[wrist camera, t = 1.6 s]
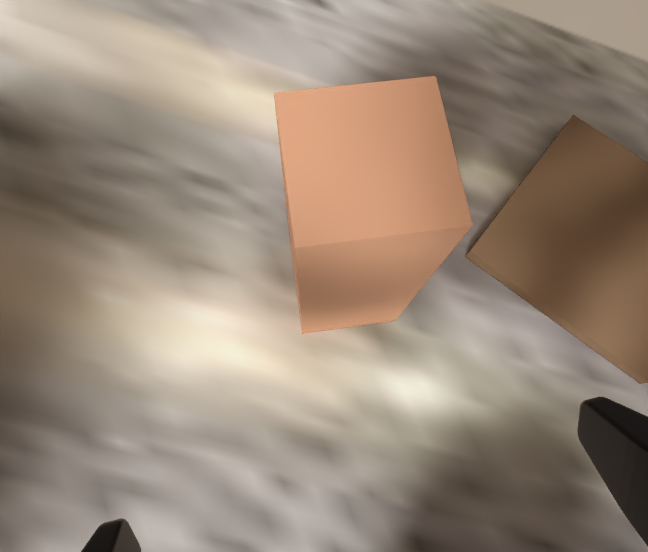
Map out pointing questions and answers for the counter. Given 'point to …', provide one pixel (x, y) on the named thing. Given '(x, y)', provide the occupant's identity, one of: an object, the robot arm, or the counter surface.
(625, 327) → the walnut board
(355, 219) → the terracotta block
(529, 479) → the counter surface
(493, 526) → the counter surface
